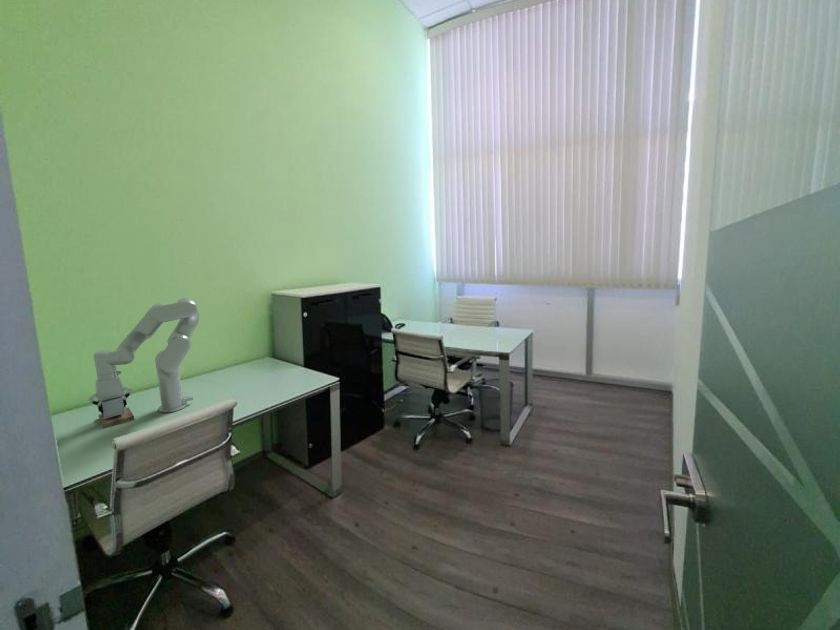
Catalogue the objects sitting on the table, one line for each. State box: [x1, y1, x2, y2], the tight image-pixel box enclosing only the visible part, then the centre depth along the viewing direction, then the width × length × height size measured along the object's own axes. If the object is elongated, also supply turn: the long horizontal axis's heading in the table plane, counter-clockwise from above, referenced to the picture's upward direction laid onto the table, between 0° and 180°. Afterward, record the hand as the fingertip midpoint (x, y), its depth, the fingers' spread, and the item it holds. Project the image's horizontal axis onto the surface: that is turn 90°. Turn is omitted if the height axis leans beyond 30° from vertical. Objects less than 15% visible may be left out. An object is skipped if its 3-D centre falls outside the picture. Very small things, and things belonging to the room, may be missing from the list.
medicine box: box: [101, 397, 125, 419], centre depth 184 cm, size 8×4×9 cm, turn 139°
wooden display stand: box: [98, 407, 135, 429], centre depth 186 cm, size 12×14×10 cm
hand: (113, 409), depth 184 cm, fingers closed on medicine box, 8 cm apart
